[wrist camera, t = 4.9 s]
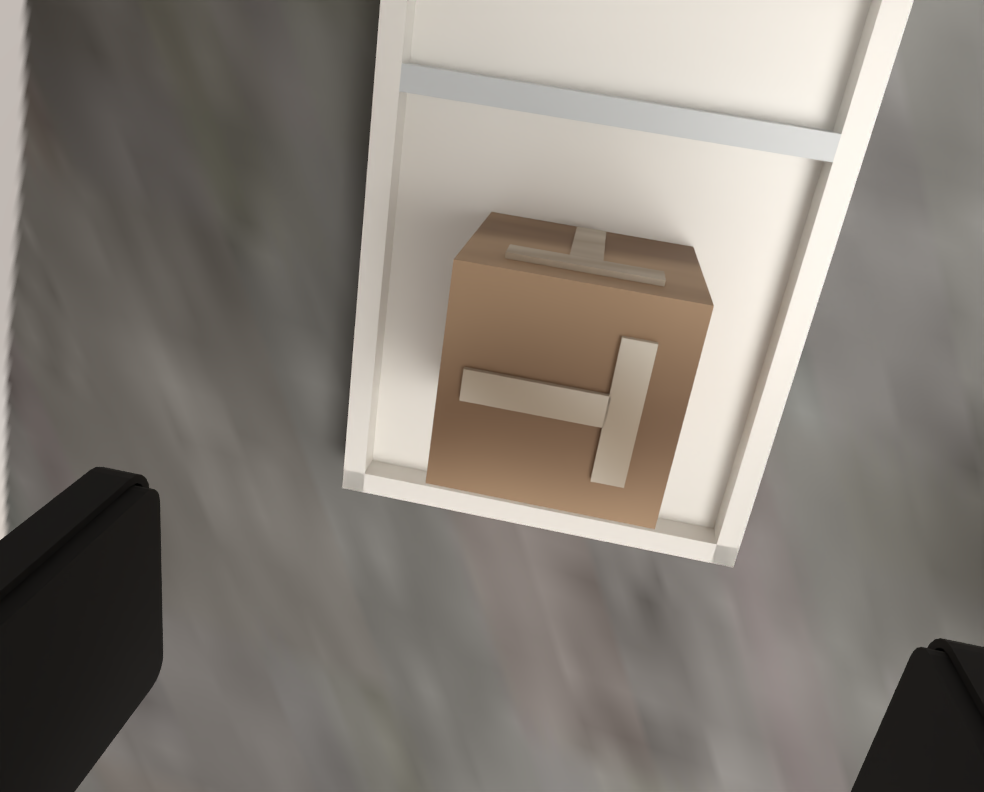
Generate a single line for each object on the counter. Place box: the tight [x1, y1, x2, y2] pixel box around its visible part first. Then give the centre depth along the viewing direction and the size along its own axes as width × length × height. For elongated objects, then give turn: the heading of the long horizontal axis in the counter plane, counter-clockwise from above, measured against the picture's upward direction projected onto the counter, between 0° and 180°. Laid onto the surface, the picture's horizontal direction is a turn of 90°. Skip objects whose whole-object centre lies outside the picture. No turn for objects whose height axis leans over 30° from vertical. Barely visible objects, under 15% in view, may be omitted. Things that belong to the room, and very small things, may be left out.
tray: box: [342, 0, 914, 567], centre depth 19 cm, size 22×11×2 cm, turn 172°
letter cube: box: [426, 212, 714, 529], centre depth 19 cm, size 5×5×5 cm
